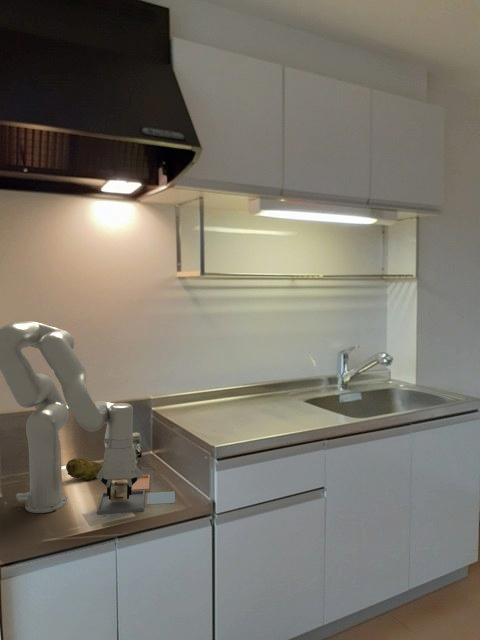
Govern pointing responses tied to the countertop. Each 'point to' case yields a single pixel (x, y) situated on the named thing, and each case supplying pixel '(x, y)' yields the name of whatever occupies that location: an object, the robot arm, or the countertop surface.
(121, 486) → the letter cube
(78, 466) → the potato
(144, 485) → the terracotta tray
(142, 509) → the charcoal tray
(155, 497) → the mat
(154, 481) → the countertop surface
